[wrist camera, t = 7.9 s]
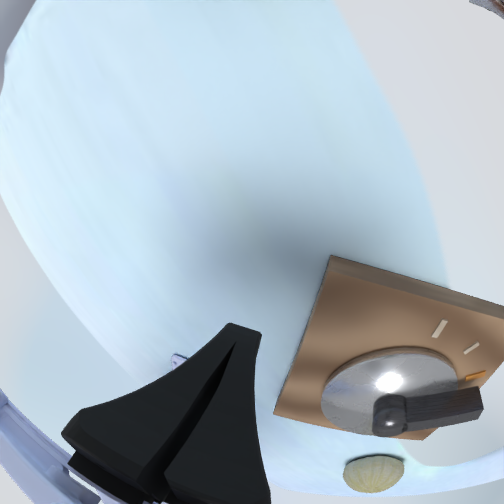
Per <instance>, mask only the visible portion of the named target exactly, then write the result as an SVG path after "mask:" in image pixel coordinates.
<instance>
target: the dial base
mask: <svg viewBox="0 0 504 504" xmlns="http://www.w3.org/2000/svg"><path fill="white" fill-rule="evenodd" d="M402 347H414V348H423V349H428V350H432V351H434V352H437V353H439V354H441V355H443V356H444V357H446V358H447V359H448V360H449V361H450V362H451V363H452V365H453V366H454V369H455V372H456V376H457V381H458V390H460V389H464V388H469V387H474V386H479V389H480V387H481V386H482V385H483V384H484V383H485V382H486V381H487V380H488V379H489V378H490V376H491V375H492V374H493V373H494V372H495V370H497V368H498V367H499V366H500V365H501V364H502V362H503V361H504V306H502V305H498V304H495V303H492V302H489V301H486V300H482V299H479V298H476V297H473V296H470V295H466V294H463V293H460V292H456V291H453V290H450V289H447V288H443V287H440V286H437V285H433V284H430V283H427V282H423V281H420V280H417V279H413V278H410V277H406V276H403V275H399V274H396V273H393V272H389V271H386V270H382V269H379V268H375V267H372V266H368V265H365V264H361V263H358V262H354V261H351V260H347V259H343V258H340V257H336V256H333V255H331V256H330V259H329V262H328V265H327V269H326V272H325V275H324V278H323V281H322V284H321V287H320V290H319V293H318V296H317V298H316V301H315V304H314V307H313V310H312V313H311V316H310V318H309V321H308V324H307V327H306V329H305V332H304V335H303V337H302V340H301V343H300V345H299V348H298V350H297V353H296V355H295V358H294V361H293V363H292V366H291V368H290V371H289V373H288V375H287V378H286V380H285V383H284V385H283V388H282V390H281V392H280V395H279V397H278V399H277V402H276V406H275V409H274V412H273V414H274V415H277V416H281V417H285V418H289V419H292V420H296V421H300V422H305V423H309V424H313V425H318V426H322V427H327V428H332V429H337V430H342V431H346V430H343V429H341V428H339V427H337V426H336V425H334V424H332V423H331V422H330V421H329V420H328V419H327V418H326V417H325V415H324V414H323V412H322V409H321V398H322V393H323V388H324V385H325V383H326V381H327V380H328V378H329V377H330V376H331V375H332V374H333V373H334V372H335V371H336V370H337V369H338V368H340V367H341V366H343V365H344V364H346V363H348V362H350V361H351V360H353V359H355V358H358V357H360V356H363V355H366V354H369V353H372V352H376V351H380V350H384V349H391V348H402ZM437 428H438V427H437ZM437 428H431V429H425V430H417V431H409V432H404V433H402V434H400V435H397V436H393V437H389V438H399V439H410V440H424V439H425V438H426V437H428V436H429V435H430V434H431V433H432V432H434V431H435V430H436V429H437ZM348 432H349V431H348ZM374 436H376V435H374Z"/></svg>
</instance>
